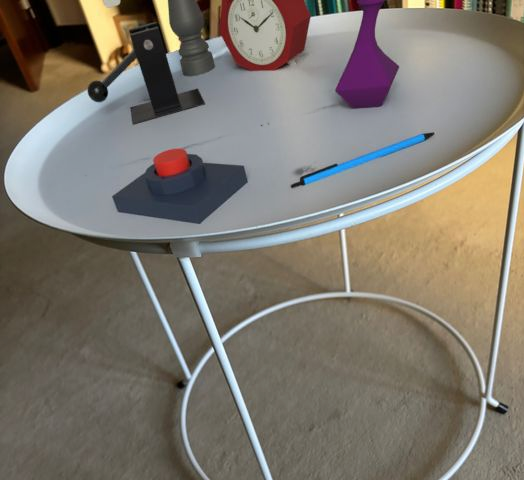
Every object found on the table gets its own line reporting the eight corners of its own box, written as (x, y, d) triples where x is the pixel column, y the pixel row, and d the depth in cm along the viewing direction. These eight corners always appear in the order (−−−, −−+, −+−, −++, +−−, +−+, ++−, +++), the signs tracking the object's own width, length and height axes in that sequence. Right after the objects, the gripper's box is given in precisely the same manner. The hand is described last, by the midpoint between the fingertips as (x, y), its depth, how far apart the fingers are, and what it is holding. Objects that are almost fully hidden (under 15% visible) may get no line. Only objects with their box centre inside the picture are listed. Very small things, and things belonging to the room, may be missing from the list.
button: (150, 176, 69) (145, 162, 68) (171, 161, 72) (167, 147, 71) (176, 179, 67) (171, 164, 66) (196, 163, 70) (192, 149, 69)
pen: (290, 188, 68) (288, 179, 67) (433, 135, 71) (432, 126, 70) (293, 191, 67) (291, 182, 67) (437, 137, 71) (437, 128, 70)
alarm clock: (228, 77, 106) (199, -54, 93) (254, 60, 111) (229, -66, 98) (299, 76, 98) (278, -67, 86) (323, 58, 103) (306, -80, 91)
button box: (117, 212, 72) (105, 182, 70) (168, 175, 78) (158, 145, 76) (199, 224, 66) (189, 191, 63) (248, 182, 71) (240, 150, 69)
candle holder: (178, 82, 110) (133, -79, 94) (193, 71, 114) (152, -86, 98) (207, 80, 107) (166, -87, 91) (221, 68, 112) (184, -94, 96)
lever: (98, 109, 94) (82, 93, 92) (98, 103, 96) (83, 88, 94) (161, 45, 90) (146, 27, 88) (160, 41, 93) (145, 23, 91)
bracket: (134, 130, 94) (105, 45, 86) (132, 114, 101) (104, 33, 93) (206, 110, 95) (184, 23, 87) (199, 95, 102) (178, 13, 93)
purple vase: (400, 89, 84) (393, -60, 73) (391, 110, 79) (382, -47, 68) (349, 94, 87) (334, -49, 76) (337, 114, 82) (320, -36, 71)
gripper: (32, -147, 62) (85, -1, 71) (13, -161, 47) (84, 29, 55) (90, -164, 63) (135, -16, 71) (90, -182, 47) (148, 10, 56)
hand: (113, 4), depth 63 cm, fingers closed
